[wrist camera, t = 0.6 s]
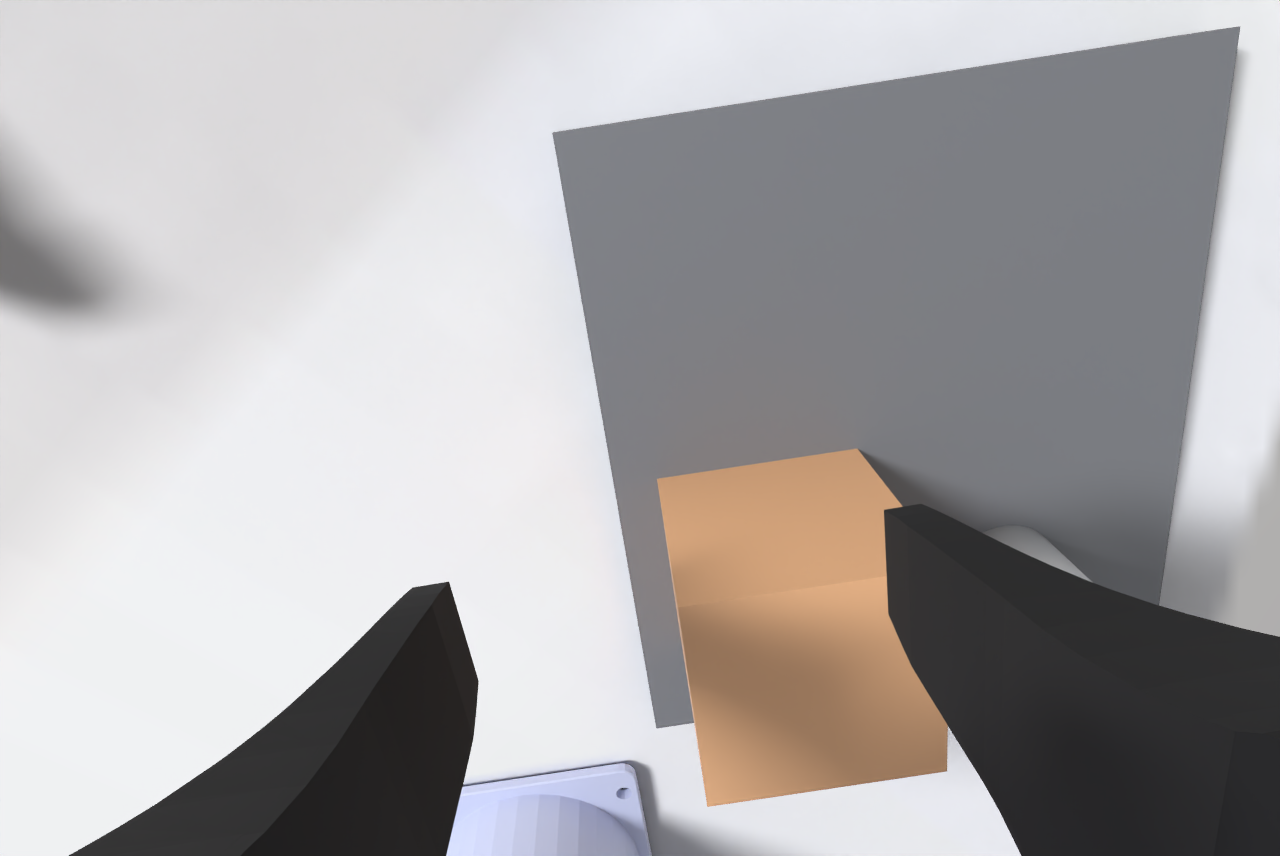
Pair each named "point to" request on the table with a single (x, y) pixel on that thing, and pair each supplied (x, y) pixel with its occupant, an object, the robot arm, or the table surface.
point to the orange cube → (793, 630)
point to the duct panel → (911, 299)
